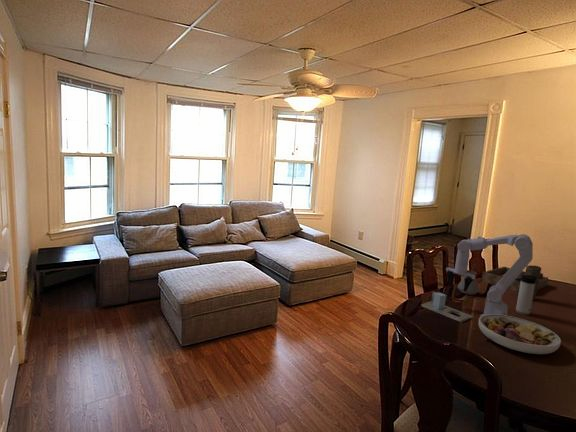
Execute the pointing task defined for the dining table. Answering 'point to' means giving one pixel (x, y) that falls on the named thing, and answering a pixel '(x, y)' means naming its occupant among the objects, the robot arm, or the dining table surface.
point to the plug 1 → (433, 295)
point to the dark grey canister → (534, 272)
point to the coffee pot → (473, 286)
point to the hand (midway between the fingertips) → (458, 288)
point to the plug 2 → (439, 301)
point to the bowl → (519, 334)
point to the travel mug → (525, 294)
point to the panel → (448, 312)
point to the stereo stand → (495, 277)
